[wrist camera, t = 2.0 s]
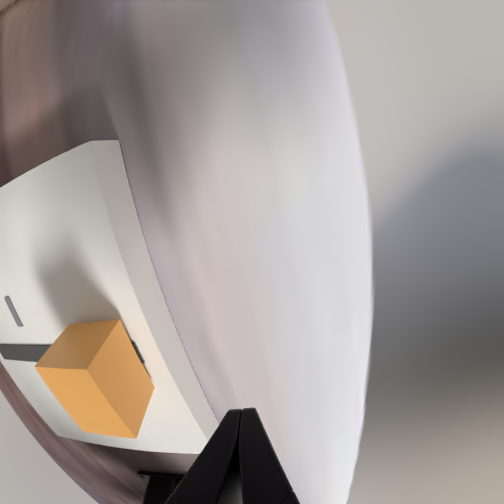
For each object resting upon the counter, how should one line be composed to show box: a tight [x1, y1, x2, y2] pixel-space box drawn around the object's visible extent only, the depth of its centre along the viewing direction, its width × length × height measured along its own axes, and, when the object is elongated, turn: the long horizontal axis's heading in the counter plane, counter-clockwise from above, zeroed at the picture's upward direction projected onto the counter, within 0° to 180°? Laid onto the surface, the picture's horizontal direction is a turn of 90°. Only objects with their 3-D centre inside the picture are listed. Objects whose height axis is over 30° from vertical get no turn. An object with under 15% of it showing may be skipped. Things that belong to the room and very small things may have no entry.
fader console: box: [0, 140, 219, 454], centre depth 14 cm, size 18×14×3 cm
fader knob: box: [34, 319, 155, 439], centre depth 10 cm, size 4×3×3 cm
